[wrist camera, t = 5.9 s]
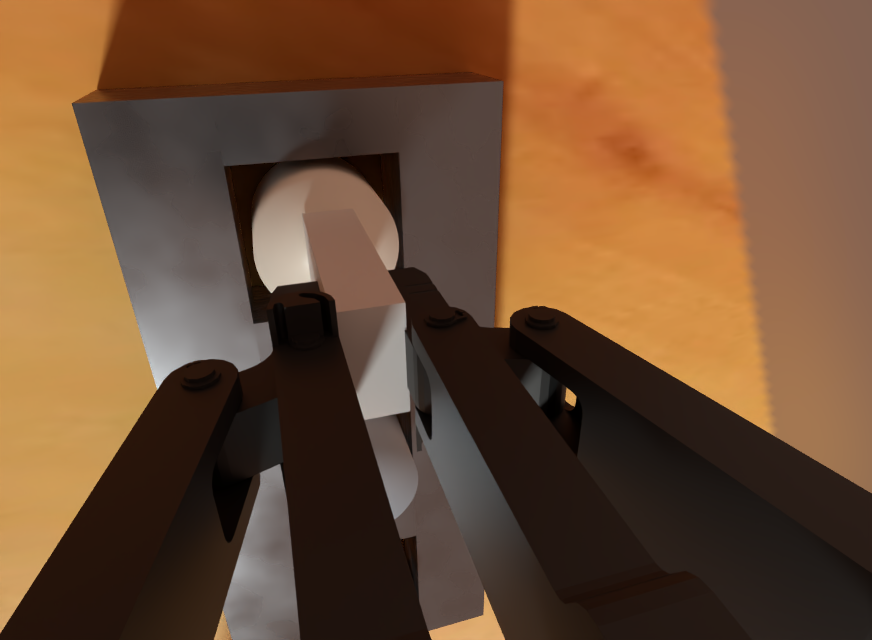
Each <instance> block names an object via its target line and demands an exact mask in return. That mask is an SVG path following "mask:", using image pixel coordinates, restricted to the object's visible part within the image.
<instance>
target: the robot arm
mask: <svg viewBox="0 0 872 640" xmlns="http://www.w3.org/2000/svg"><path fill="white" fill-rule="evenodd" d="M302 218H303V226H304V233H305V241H306V249H307V256H308V264H309V272H310V279H311V282H305V283H298V284H290V285H282V286H277V287H276V288H275V290H274V291H273V292H272V294H271V295H270V303H269V304H268V306H267V308H266V313H267V318H268V324H269V330H270V336H271V341H272V347H273V351H272V353H271V354H270V356H268V357H267V358H266V359H265V360H264V361H262V362H261V363H259V364H257V365H255V366H253V367H251V368H248V369H246V370H243V371H240V372H238V369H237V368H236V366H235V365H234V364H233V363H231V362H228V361H225V360H219V359H207V360H197V361H193V362H192V363H191V362H190V363H187V364H185V365H183V366H181V367H179V368H178V369H176V370H174V371H172V372H171V373H170V374H169V375H168V376H167V377H166V378H165V379H164V380H163V382H162V383H161V385H160V386H159V388H158V389H157V391H156V393H155V394H154V396H153V397H152V399H151V400H150V402H149V403H148V405H147V407H146V408H145V410H144V411H143V413H142V414H141V416H140V417H139V419H138V421H137V422H136V424H135V425H134V427H133V428H132V430H131V431H130V433H129V434H128V436H127V438H126V439H125V441H124V442H123V444H122V445H121V447H120V448H119V450H118V452H117V453H116V455H115V456H114V458H113V459H112V461H111V462H110V464H109V466H108V467H107V469H106V470H105V472H104V473H103V475H102V476H101V478H100V480H99V481H98V483H97V484H96V486H95V487H94V489H93V490H92V492H91V493H90V495H89V497H88V498H87V500H86V501H85V503H84V504H83V506H82V507H81V509H80V511H79V512H78V514H77V515H76V517H75V518H74V520H73V521H72V523H71V525H70V526H69V528H68V529H67V531H66V532H65V534H64V535H63V537H62V539H61V540H60V542H59V543H58V545H57V546H56V548H55V549H54V551H53V553H52V554H51V556H50V557H49V559H48V560H47V562H46V563H45V565H44V566H43V568H42V570H41V571H40V573H39V574H38V576H37V577H36V579H35V580H34V582H33V584H32V585H31V587H30V588H29V590H28V591H27V593H26V594H25V596H24V598H23V599H22V601H21V602H20V604H19V605H18V607H17V608H16V610H15V612H14V613H13V615H12V616H11V618H10V619H9V621H8V622H7V624H6V625H5V627H4V629H3V630H2V632H1V633H0V640H214V637H215V634H216V630H217V627H218V624H219V620H220V617H221V614H222V610H223V607H224V604H225V600H226V597H227V594H228V590H229V587H230V584H231V580H232V577H233V574H234V570H235V567H236V564H237V560H238V557H239V554H240V550H241V547H242V544H243V540H244V537H245V534H246V530H247V527H248V524H249V520H250V517H251V514H252V510H253V507H254V504H255V500H256V497H257V494H258V490H259V487H260V473H261V472H263V471H265V470H267V469H270V468H272V467H274V466H276V465H279V464H281V463H284V474H285V484H286V495H287V505H288V516H289V526H290V537H291V547H292V558H293V568H294V579H295V589H296V600H297V610H298V621H299V631H300V640H432V639H431V637H430V634H429V631H428V629H427V625H426V622H425V619H424V615H423V612H422V609H421V606H420V602H419V599H418V596H417V592H416V589H415V586H414V582H413V579H412V576H411V572H410V569H409V566H408V563H407V559H406V556H405V553H404V549H403V546H402V543H401V539H400V536H399V533H398V530H397V526H396V523H395V520H394V516H393V513H392V510H391V506H390V503H389V500H388V496H387V493H386V490H385V487H384V483H383V480H382V477H381V473H380V470H379V467H378V463H377V460H376V457H375V454H374V450H373V447H372V444H371V440H370V437H369V434H368V430H367V427H366V424H365V420H367V419H372V418H378V417H383V416H388V415H393V414H398V413H404V412H409V411H410V394H411V396H412V398H413V401H414V403H415V422H416V446H417V452H418V451H422V443H424V445H425V447H426V450H427V452H428V455H429V457H430V459H431V462H432V464H433V467H434V469H435V471H436V474H437V476H438V479H439V481H440V484H441V486H442V488H443V491H444V493H445V496H446V498H447V500H448V503H449V505H450V508H451V510H452V512H453V515H454V517H455V520H456V522H457V524H458V527H459V529H460V532H461V534H462V537H463V539H464V541H465V544H466V546H467V549H468V551H469V553H470V556H471V558H472V561H473V563H474V565H475V568H476V570H477V573H478V575H479V577H480V580H481V582H482V585H483V587H484V590H485V592H486V594H487V597H488V599H489V602H490V604H491V606H492V609H493V611H494V614H495V616H496V618H497V621H498V623H499V626H500V628H501V630H502V633H503V635H504V638H505V640H872V493H870V492H868V491H866V490H864V489H863V488H861V487H859V486H858V485H856V484H854V483H853V482H851V481H850V480H848V479H846V478H844V477H843V476H841V475H839V474H838V473H836V472H834V471H833V470H831V469H829V468H827V467H826V466H824V465H822V464H821V463H819V462H817V461H815V460H814V459H812V458H810V457H809V456H807V455H805V454H803V453H802V452H800V451H799V450H797V449H795V448H793V447H792V446H790V445H788V444H787V443H785V442H783V441H782V440H780V439H778V438H777V437H775V436H773V435H771V434H770V433H768V432H766V431H765V430H763V429H761V428H760V427H758V426H756V425H754V424H753V423H751V422H749V421H748V420H746V419H744V418H743V417H741V416H739V415H737V414H736V413H734V412H732V411H731V410H729V409H727V408H726V407H724V406H722V405H720V404H719V403H717V402H715V401H714V400H712V399H710V398H709V397H707V396H705V395H704V394H702V393H700V392H698V391H697V390H695V389H693V388H692V387H690V386H688V385H687V384H685V383H683V382H681V381H680V380H678V379H676V378H675V377H673V376H671V375H670V374H668V373H666V372H664V371H663V370H661V369H659V368H658V367H656V366H654V365H653V364H651V363H649V362H648V361H646V360H644V359H642V358H641V357H639V356H637V355H636V354H634V353H632V352H631V351H629V350H627V349H625V348H624V347H622V346H620V345H619V344H617V343H615V342H614V341H612V340H610V339H608V338H607V337H605V336H603V335H602V334H600V333H598V332H597V331H595V330H593V329H591V328H590V327H588V326H586V325H585V324H583V323H581V322H580V321H578V320H576V319H575V318H573V317H571V316H569V315H568V314H566V313H564V312H561V311H559V310H557V309H552V308H548V307H545V306H539V307H538V306H532V307H529V308H523V309H520V310H518V311H516V312H514V313H513V315H512V316H511V317H510V328H490V327H480V326H479V325H478V324H477V322H476V321H475V320H474V318H473V317H472V316H471V315H470V314H469V313H468V312H466V311H465V310H462V309H459V308H456V307H450V306H449V305H448V303H447V302H446V301H445V299H444V298H443V296H442V295H441V293H440V292H439V291H438V290H437V288H436V286H435V285H434V284H433V282H432V281H431V279H430V278H429V276H428V275H427V273H425V272H423V271H421V270H419V269H417V268H415V267H409V268H402V269H394V270H387V269H386V267H385V265H384V263H383V261H382V260H381V258H380V256H379V254H378V253H377V251H376V249H375V247H374V245H373V244H372V242H371V240H370V238H369V236H368V235H367V233H366V231H365V229H364V227H363V226H362V224H361V222H360V220H359V219H358V217H357V215H356V213H355V211H354V210H353V208H352V209H342V210H332V211H322V212H313V213H303V214H302ZM566 387H567V388H568V389H569V390H571V391H572V392H573V393H574V394H575V395H576V396H577V398H576V404H575V407H574V406H572V405H570V404H569V403H567V402H566V401H565V396H566Z"/></svg>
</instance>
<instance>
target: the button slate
mask: <svg viewBox="0 0 872 640" xmlns="http://www.w3.org/2000/svg"><path fill="white" fill-rule="evenodd" d="M365 424H366V427H367V430H368V434H369V437H370V440H371V444H372V447H373V450H374V454H375V457H376V460H377V463H378V467H379V470H380V473H381V477H382V480H383V483H384V487H385V490H386V493H387V496H388V500H389V503H390V506H391V510H392V513H393V516H394V520H395V519H396V518H397V517H398V516H399V515H401V514H402V513H403V512H404V511H405V509H406V508H407V507H408V506H409V504H410V503H411V501H412V499H413V498H414V496H415V493H416V490H417V486H418V472H417V468H416V465H415V463H414V460H413V458H412V455H411V452H410V450H409V447H408V445H407V442H406V439H405V437H404V434H403V432H402V429H401V426H400V424H399V421H398V418H397V416H396V414H393V415H388V416H383V417H378V418H372V419H367V420H365Z"/></svg>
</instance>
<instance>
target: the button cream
mask: <svg viewBox="0 0 872 640" xmlns="http://www.w3.org/2000/svg"><path fill="white" fill-rule="evenodd" d="M352 208H353V210H354V211H355V213H356V215H357V217H358V219H359V220H360V222H361V224H362V226H363V227H364V229H365V231H366V233H367V235H368V236H369V238H370V240H371V242H372V244H373V245H374V247H375V249H376V251H377V253H378V254H379V256H380V258H381V260H382V261H383V263H384V265H385V267H386V269H387V270H394V269H395V266H396V262H397V259H398V252H399V239H398V232H397V228H396V225H395V222H394V220H393V217H392V216H391V214H390V212H389V210H388V209H387V207H386V206H385V205H384V203H383V202H382V201H381V199H380V198H379V197H378V195H377V194H376V193H375V191H374V190H373V189H372V187H371V186H370V184H369V183H368V182H367V180H366V179H365V178H364V177H363V175H362V174H361V173H360V172H359V171H358V170H357V169H356V168H355V167H354V166H352V165H351V164H350V163H348V162H346V161H344V160H343V159H341V158H338V157H333V158H320V159H308V160H295V161H283V162H279V163H277V164H276V165H275V166H274V167H272V168H271V169H270V170H269V171H268V172H267V173H266V174H265V175H264V177H263V178H262V179H261V181H260V182H259V184H258V186H257V188H256V190H255V193H254V196H253V201H252V209H251V217H252V237H253V253H254V261H255V265H256V269H257V271H258V273H259V276H260V278H261V279H262V281H263V283H264V285H265V286H266V287H267V288H268V290H269V291H270V292H271V293H272V292H273V291H274V290H275V288H276V287H277V286H282V285H290V284H298V283H305V282H311V279H310V272H309V264H308V256H307V249H306V241H305V233H304V226H303V218H302V214H303V213H313V212H322V211H332V210H342V209H352Z"/></svg>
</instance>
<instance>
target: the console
mask: <svg viewBox="0 0 872 640" xmlns="http://www.w3.org/2000/svg"><path fill="white" fill-rule="evenodd" d="M502 105H503V81H501V80H498V79H494V78H490V77H486V76H483V75H479V74H475V73H472V72H466V73H444V74H423V75H402V76H380V77H359V78H338V79H316V80H295V81H274V82H252V83H231V84H210V85H188V86H167V87H146V88H124V89H103V90H95V91H93V92H91V93H90V94H88V95H86V96H84V97H82V98H81V99H79V100H77V101H75V102H73V103H72V106H73V109H74V112H75V116H76V119H77V123H78V126H79V129H80V133H81V136H82V139H83V143H84V146H85V149H86V153H87V156H88V159H89V163H90V166H91V169H92V173H93V176H94V179H95V183H96V186H97V189H98V193H99V196H100V199H101V203H102V206H103V209H104V213H105V216H106V220H107V223H108V226H109V230H110V233H111V236H112V240H113V243H114V246H115V250H116V253H117V256H118V260H119V263H120V266H121V270H122V273H123V276H124V280H125V283H126V286H127V290H128V293H129V296H130V300H131V303H132V306H133V310H134V313H135V317H136V320H137V323H138V327H139V330H140V333H141V337H142V340H143V343H144V347H145V350H146V353H147V357H148V360H149V363H150V367H151V370H152V373H153V377H154V380H155V383H156V387H157V389H158V388H159V386H160V385H161V383H162V382H163V380H164V379H165V378H166V377H167V376H168V375H169V374H170V373H171V372H172V371H174V370H176V369H178V368H179V367H181V366H183V365H185V364H187V363H190V362H191V363H192V362H193V361H197V360H207V359H219V360H225V361H228V362H231V363H233V364H234V365H235V366H236V368H237V369H238V372H240V371H243V370H246V369H248V368H251V367H253V366H255V365H257V364H259V363H261V362H262V361H264V360H265V359H266V358H267V357H268V356H270V354H271V353H272V351H273V347H272V341H271V336H270V330H269V324H268V318H267V313H266V308H267V306H268V304H269V303H270V295H271V294H272V293H271V292H270V291H269V290H268V288H267V287H266V286H258V287H252V284H251V279H250V273H249V268H248V263H247V257H246V252H245V246H244V241H243V235H242V230H241V225H240V219H239V214H238V208H237V203H236V198H235V192H234V187H233V181H232V176H231V170H230V166H233V165H245V164H258V163H270V162H283V161H295V160H308V159H320V158H333V157H345V156H358V155H370V154H381V167H382V184H383V201H384V205H385V206H386V207H387V209H388V210H389V212H390V214H391V216H392V217H393V220H394V222H395V225H396V228H397V232H398V239H399V252H398V259H397V262H396V266H395V269H402V268H409V267H415V268H417V269H419V270H421V271H423V272H425V273H427V275H428V276H429V278H430V279H431V281H432V282H433V284H434V285H435V286H436V288H437V290H438V291H439V292H440V293H441V295H442V296H443V298H444V299H445V301H446V302H447V303H448V305H449V306H450V307H456V308H459V309H462V310H465V311H466V312H468V313H469V314H470V315H471V316H472V317H473V318H474V320H475V321H476V322H477V324H478V325H479V326H480V327H490V328H494V317H495V291H496V264H497V238H498V211H499V185H500V158H501V132H502ZM396 416H397V418H398V421H399V424H400V426H401V429H402V432H403V434H404V437H405V439H406V442H407V445H408V447H409V450H410V452H411V455H412V458H413V460H414V463H415V465H416V468H417V472H418V486H417V490H416V493H415V496H414V498H413V499H412V501H411V503H410V504H409V506H408V507H407V508H406V509H405V511H404V512H403V513H402V514H401V515H399V516H398V517H397V518H396V519H395V523H396V526H397V530H398V533H399V536H400V539H404V551H405V556H406V559H407V563H408V566H409V569H410V572H411V576H412V579H413V582H414V586H415V589H416V592H417V596H418V599H419V602H420V606H421V609H422V612H423V615H424V619H425V622H426V625H427V629H428V631H430V630H433V629H437V628H440V627H444V626H447V625H450V624H454V623H457V622H461V621H464V620H468V619H471V618H474V617H478V616H481V615H483V609H484V587H483V585H482V582H481V580H480V577H479V575H478V573H477V570H476V568H475V565H474V563H473V561H472V558H471V556H470V553H469V551H468V549H467V546H466V544H465V541H464V539H463V537H462V534H461V532H460V529H459V527H458V524H457V522H456V520H455V517H454V515H453V512H452V510H451V508H450V505H449V503H448V500H447V498H446V496H445V493H444V491H443V488H442V486H441V484H440V481H439V479H438V476H437V474H436V471H435V469H434V467H433V464H432V462H431V459H430V457H429V455H428V452H427V450H426V447H425V445H424V443H422V451H418V452H417V446H416V422H415V403H414V401H413V398H412V396H411V394H410V411H409V412H404V413H398V414H396ZM223 611H224V614H225V618H226V621H227V624H228V628H229V631H230V634H231V638H232V640H300V631H299V621H298V610H297V600H296V589H295V579H294V568H293V558H292V547H291V537H290V526H289V516H288V505H287V495H286V484H285V474H284V463H281V464H279V465H276V466H274V467H272V468H270V469H267V470H265V471H263V472H261V473H260V487H259V490H258V494H257V497H256V500H255V504H254V507H253V510H252V514H251V517H250V520H249V524H248V527H247V530H246V534H245V537H244V540H243V544H242V547H241V550H240V554H239V557H238V560H237V564H236V567H235V570H234V574H233V577H232V580H231V584H230V587H229V590H228V594H227V597H226V600H225V604H224V607H223Z"/></svg>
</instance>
